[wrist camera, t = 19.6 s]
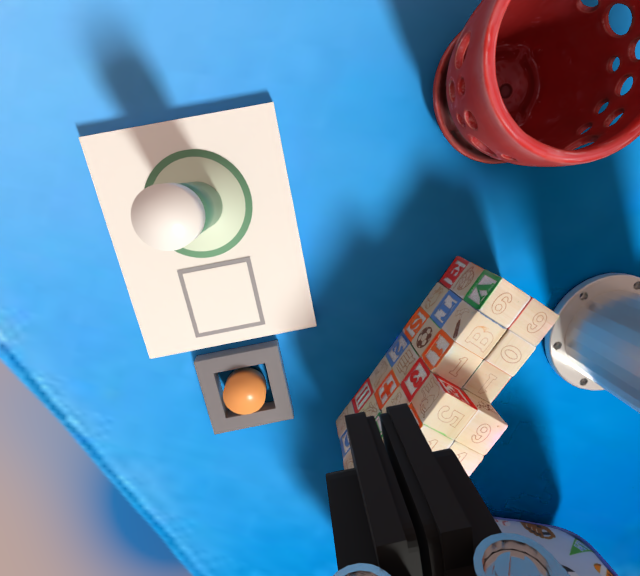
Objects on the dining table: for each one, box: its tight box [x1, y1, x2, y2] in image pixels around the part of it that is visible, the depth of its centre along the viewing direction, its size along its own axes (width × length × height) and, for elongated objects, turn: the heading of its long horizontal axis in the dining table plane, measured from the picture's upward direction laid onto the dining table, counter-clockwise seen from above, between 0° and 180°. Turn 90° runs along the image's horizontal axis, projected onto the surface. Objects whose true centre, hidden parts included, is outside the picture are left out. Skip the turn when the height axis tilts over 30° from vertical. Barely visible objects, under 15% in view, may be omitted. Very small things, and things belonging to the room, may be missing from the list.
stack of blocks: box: [336, 256, 560, 476], centre depth 37 cm, size 21×6×12 cm, turn 147°
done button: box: [223, 367, 266, 415], centre depth 41 cm, size 4×4×2 cm
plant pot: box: [433, 0, 640, 167], centre depth 31 cm, size 13×13×12 cm
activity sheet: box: [79, 102, 317, 359], centre depth 37 cm, size 16×20×1 cm
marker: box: [131, 182, 223, 251], centre depth 31 cm, size 4×4×10 cm
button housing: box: [194, 340, 294, 434], centre depth 41 cm, size 8×8×2 cm
